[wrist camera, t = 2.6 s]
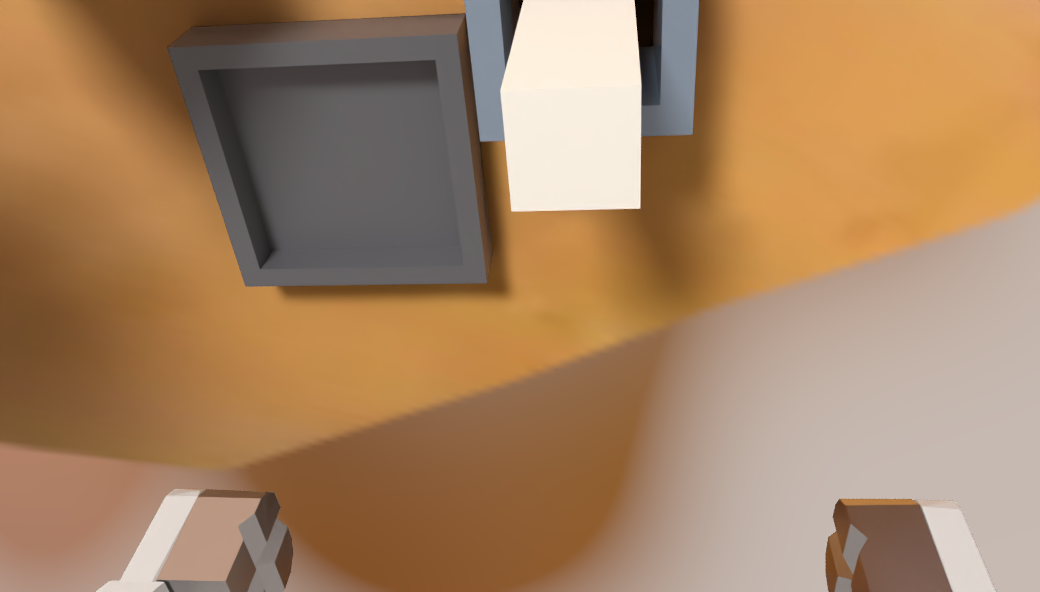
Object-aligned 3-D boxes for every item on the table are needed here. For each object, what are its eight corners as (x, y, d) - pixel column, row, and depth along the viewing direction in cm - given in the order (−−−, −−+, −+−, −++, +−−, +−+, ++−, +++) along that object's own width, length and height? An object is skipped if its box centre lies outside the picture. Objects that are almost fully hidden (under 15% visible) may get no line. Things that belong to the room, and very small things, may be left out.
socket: (477, -119, 32) (455, -82, 27) (689, -133, 31) (703, -98, 26) (497, 80, 37) (480, 141, 32) (681, 72, 36) (692, 134, 31)
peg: (539, -62, 33) (500, 90, 21) (628, -67, 33) (641, 85, 21) (544, 27, 35) (511, 211, 23) (628, 23, 35) (640, 208, 23)
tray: (191, 26, 36) (167, 47, 34) (465, 13, 35) (456, 33, 33) (262, 258, 44) (245, 286, 42) (492, 254, 42) (487, 283, 40)
